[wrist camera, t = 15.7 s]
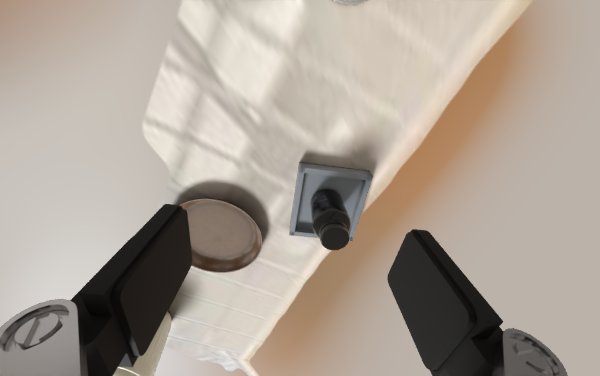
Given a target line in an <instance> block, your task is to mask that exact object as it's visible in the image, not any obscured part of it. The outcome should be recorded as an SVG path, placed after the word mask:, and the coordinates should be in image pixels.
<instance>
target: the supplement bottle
mask: <svg viewBox="0 0 600 376" xmlns="http://www.w3.org/2000/svg"><path fill="white" fill-rule="evenodd" d="M310 208H311V217H312V226H313V230H314V233H315V234H316V236H317V237H319V238H320V241H321V244H322V245H323V246H324V247H325V248H327V249H329V250H339V249H341V248H343V247H345V246H346V245H347V243H348V241H349V233H348V232H349V230H350V227H351V221H350V218H349V215H348V213H347V210H346V207H345V205H344V202H343V200H342V197H341V196H340V194H339V193H338V192H336V191H334V190H331V189H323V190H320V191H318V192H316V193H315V194H314V195H313V197H312V199H311V201H310Z"/></svg>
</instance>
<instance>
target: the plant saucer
mask: <svg viewBox="0 0 600 376" xmlns="http://www.w3.org/2000/svg"><path fill="white" fill-rule="evenodd" d="M180 205H181V206H182V207H183V209H184V210H187V214H188V223H189V232H190V241H191V249H192V265H191V266H193V267H196V268H198V269H201V270H204V271H209V272H215V273H228V272H234V271H238V270H241V269H243V268H245V267H247V266H249V265H250V264H252V263H253V262H254V261H255V260H256V259H257V257H258V256H259V254H260V252H261V249H262V235H261V232H260V229H259V228H258V226H257V224H256V223H255V221H254V220H253V219H252V218H251V217H250V216H249V215H248V214H247V213H246V212H245V211H244V210H242V209H241V208H239V207H237V206H236V205H234V204H231V203H229V202H226V201H222V200H217V199H196V200H191V201H188V202H185V203H182V204H180Z"/></svg>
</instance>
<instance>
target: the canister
mask: <svg viewBox="0 0 600 376" xmlns="http://www.w3.org/2000/svg"><path fill="white" fill-rule="evenodd" d="M170 327H171V316H170V314H169V313H168V311H167V313H166V315H165V317H164V319H163V321H162V323H161V325H160V327H159V328H158V330H157V332H156V334H155V336H154V338H153V340H152V342H151V344H150V346H149V347H148V349H147V351H146V353H145V354H144V355H143V356H139V357H138V358H137V360H136V362H135V364H134V366H133V367H118V368H117V369H116V371H115V373H114V375H113V376H154V373H155V371H156V367H157V365H158V362H159V359H160V357H161V354H162V351H163V348H164V346H165V343H166V340H167V337H168V334H169V331H170Z"/></svg>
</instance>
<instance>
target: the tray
mask: <svg viewBox="0 0 600 376" xmlns="http://www.w3.org/2000/svg"><path fill="white" fill-rule="evenodd" d="M372 177H373V176H372V174H371V173H370V172H369V171H366V170H358V169H350V168H342V167H334V166H326V165H318V164H310V163H301V162H299V168H298V175H297V182H296V189H295V195H294V202H293V209H292V216H291V222H290V234H289V235H294V236H305V237H315V238H319V237H317V236H316V234H315V233H314V230H313V226H312V217H311V208H310V201H311V199H312V197H313V195H314V194H315V193H316V192H318V191H320V190H323V189H331V190H334V191H336V192H338V193H339V194H340V196H341V197H342V200H343V202H344V205H345V207H346V210H347V213H348V215H349V218H350V221H351V227H350V230H349V232H348V233H349V241H352V240H353V237H354V233H355V230H356V227H357V224H358V221H359V218H360V215H361V212H362V208H363V205H364V202H365V199H366V196H367V193H368V190H369V187H370V183H371V180H372Z"/></svg>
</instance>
